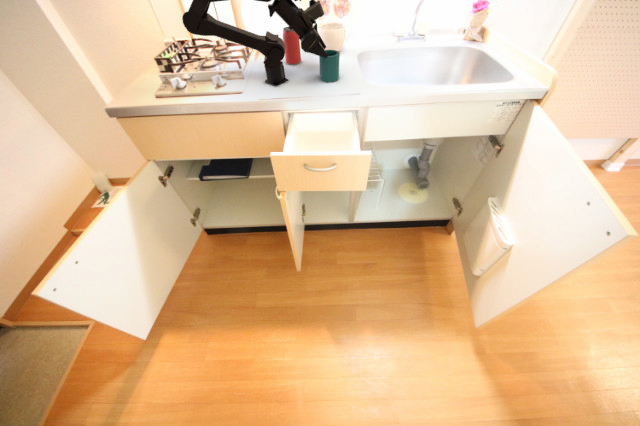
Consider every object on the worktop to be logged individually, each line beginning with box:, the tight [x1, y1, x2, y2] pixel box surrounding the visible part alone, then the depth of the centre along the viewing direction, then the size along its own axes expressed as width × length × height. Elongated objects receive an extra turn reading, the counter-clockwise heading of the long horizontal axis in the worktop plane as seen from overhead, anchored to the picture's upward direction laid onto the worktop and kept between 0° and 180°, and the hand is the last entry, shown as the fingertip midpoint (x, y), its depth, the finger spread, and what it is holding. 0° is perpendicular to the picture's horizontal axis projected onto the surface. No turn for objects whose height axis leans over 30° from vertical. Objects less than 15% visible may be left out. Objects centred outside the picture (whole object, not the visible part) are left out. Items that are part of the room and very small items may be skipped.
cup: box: [317, 22, 346, 52], centre depth 106 cm, size 12×12×10 cm
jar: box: [318, 50, 340, 83], centre depth 89 cm, size 7×7×8 cm
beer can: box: [282, 26, 302, 65], centre depth 99 cm, size 7×7×12 cm
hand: (326, 52), depth 85 cm, fingers open, 9 cm apart
